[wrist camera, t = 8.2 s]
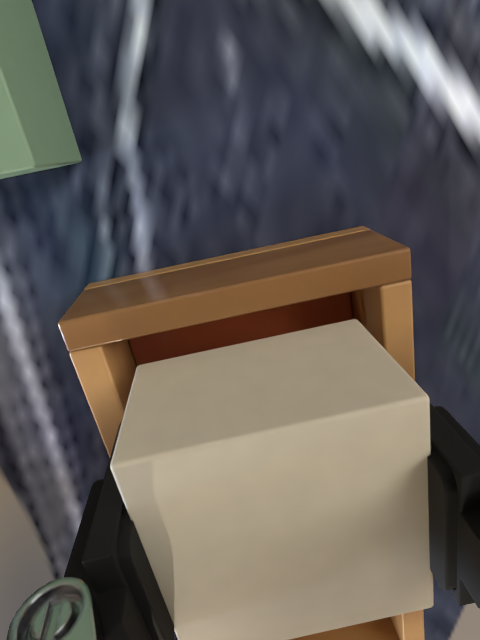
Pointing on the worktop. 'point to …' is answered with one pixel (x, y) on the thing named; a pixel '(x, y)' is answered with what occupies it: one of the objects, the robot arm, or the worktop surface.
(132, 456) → the pad
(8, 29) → the pad
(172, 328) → the holder
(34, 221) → the worktop surface
